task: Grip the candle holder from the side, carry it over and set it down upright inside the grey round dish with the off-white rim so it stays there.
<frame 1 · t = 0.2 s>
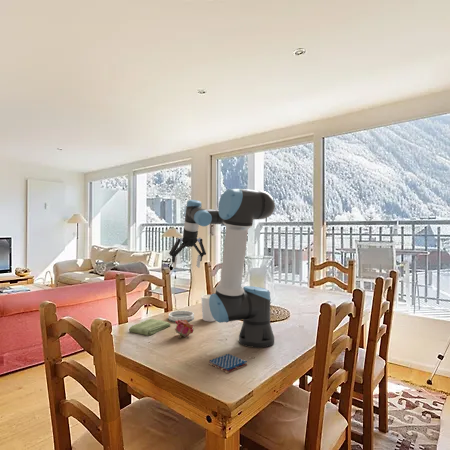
hand: (186, 267, 178), 27 cm above the table, tool tilted 15°, fingers open, 13 cm apart
grey round dish: (181, 318, 176), on the table
woven mat: (227, 366, 119), on the table
flower: (184, 337, 148), on the table
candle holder: (210, 319, 175), on the table
washcloth: (150, 330, 159), on the table
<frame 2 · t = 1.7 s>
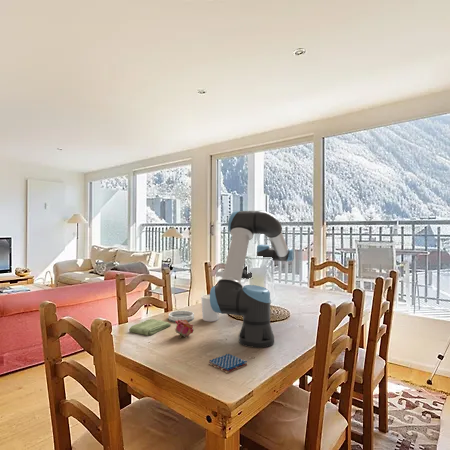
hand: (224, 275, 181), 22 cm above the table, tool horizontal, fingers open, 13 cm apart
nothing on the table moved.
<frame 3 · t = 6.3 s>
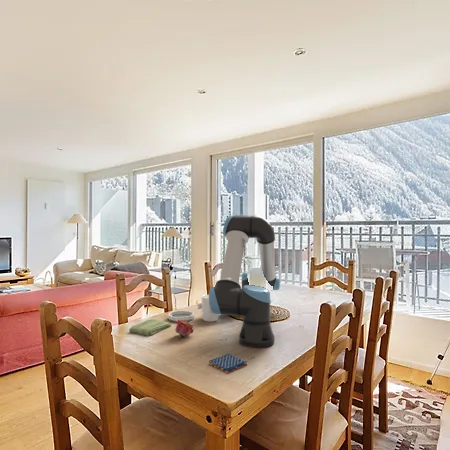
hand: (203, 308, 172), 7 cm above the table, tool horizontal, fingers closed on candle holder, 9 cm apart
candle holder: (210, 319, 175), on the table, touching gripper
everything else where it was.
when the fingers open (9 cm above the table, at t = 11.9 s): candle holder drops 1 cm, resting on grey round dish.
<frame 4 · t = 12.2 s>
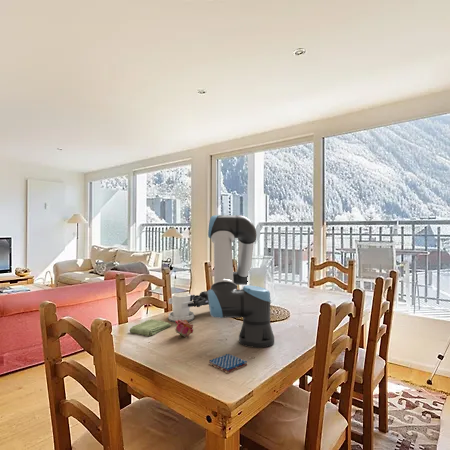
hand: (175, 303, 173), 9 cm above the table, tool horizontal, fingers open, 12 cm apart
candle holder: (181, 317, 176), point 1 cm above the table, touching grey round dish
everything else where it was.
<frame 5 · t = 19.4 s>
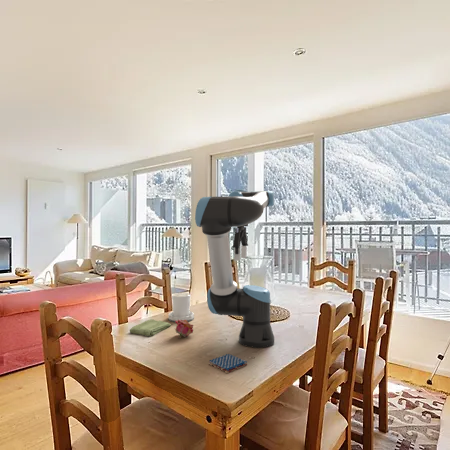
hand: (240, 259, 175), 32 cm above the table, tool pointing down, fingers open, 13 cm apart
nothing on the table moved.
at the end: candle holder 0.0 cm off-centre on the grey round dish, point 0.6 cm above the grey round dish's base; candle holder tilted 0°; the gripper is holding nothing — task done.
